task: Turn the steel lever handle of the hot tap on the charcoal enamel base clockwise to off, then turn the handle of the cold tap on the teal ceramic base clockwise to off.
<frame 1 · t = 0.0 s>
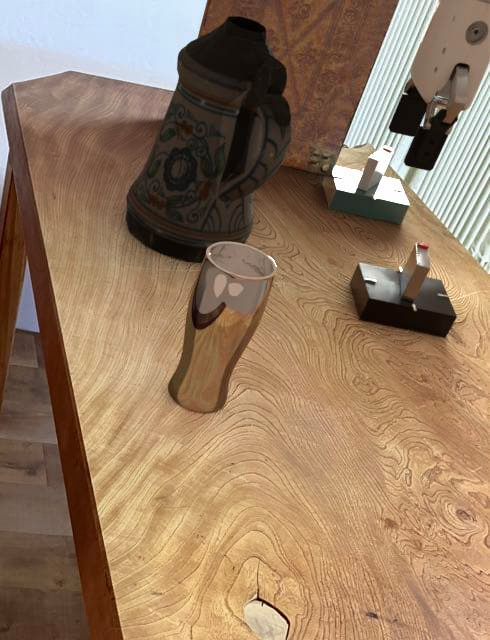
hand: (408, 149, 100), 18 cm above the table, tool pointing down, fingers open, 9 cm apart
hot tap: (415, 270, 108), point 5 cm above the table, hinge at 80.0°
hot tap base: (396, 310, 112), on the table
cold tap: (375, 168, 130), point 5 cm above the table, hinge at 60.0°
book: (252, 148, 142), on the table
beer glass: (196, 396, 90), on the table
beer stein: (193, 238, 115), on the table
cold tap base: (360, 203, 134), on the table
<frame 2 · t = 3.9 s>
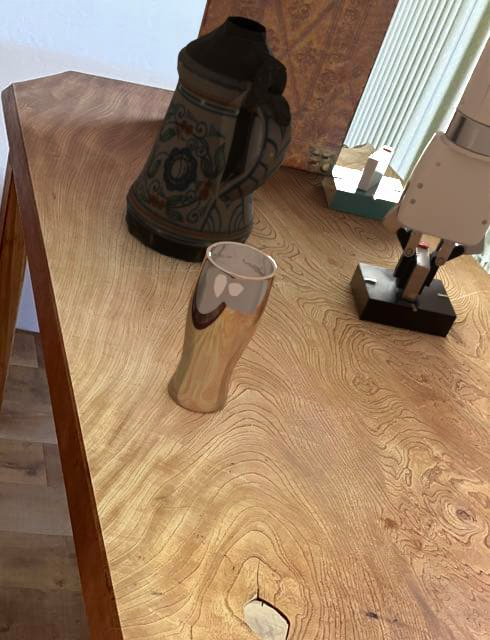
hand: (408, 285, 109), 3 cm above the table, tool pointing down, fingers closed on hot tap
hot tap: (415, 270, 108), point 5 cm above the table, hinge at 80.0°, touching gripper
everything else where it was.
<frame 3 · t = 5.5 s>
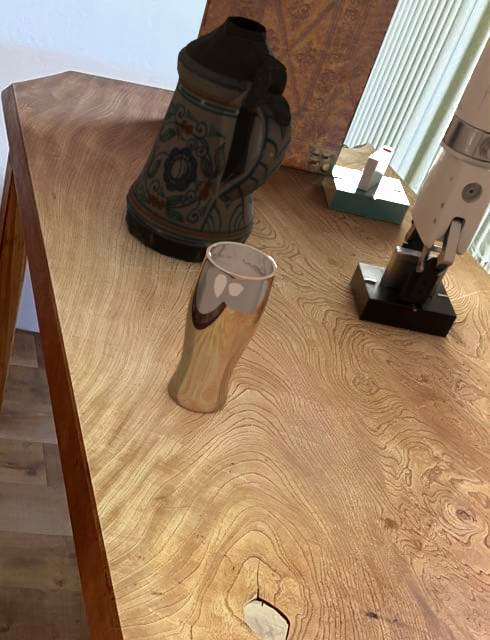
hand: (407, 287, 109), 3 cm above the table, tool pointing down, fingers open, 5 cm apart
hot tap: (415, 270, 108), point 5 cm above the table, hinge at -0.1°
everything else where it was.
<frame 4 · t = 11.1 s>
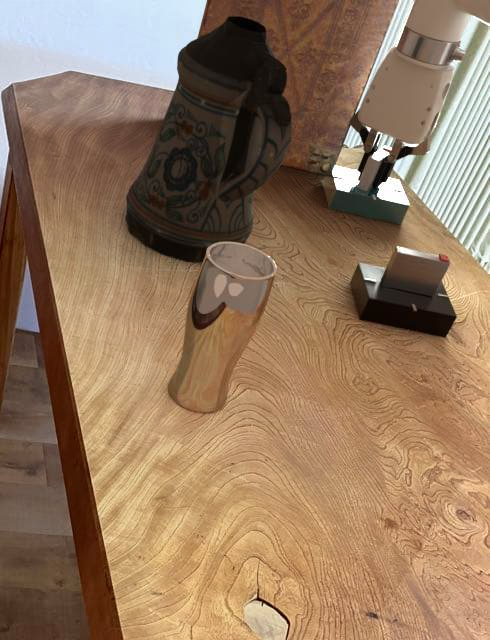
hand: (370, 181, 131), 3 cm above the table, tool pointing down, fingers closed on cold tap
cold tap: (375, 168, 130), point 5 cm above the table, hinge at 60.0°, touching gripper
everything else where it was.
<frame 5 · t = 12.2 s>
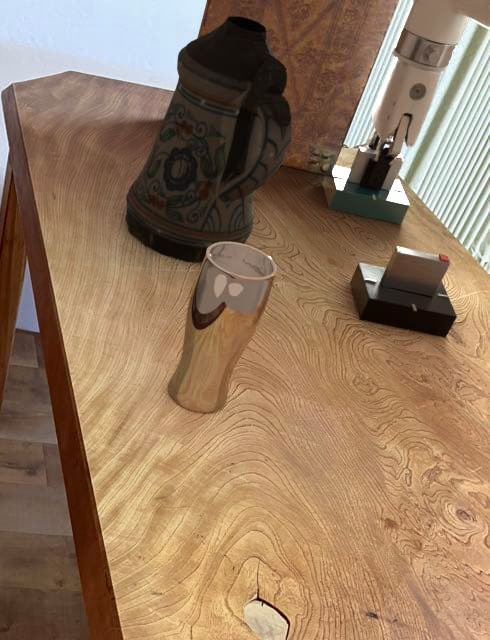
hand: (367, 181, 132), 3 cm above the table, tool pointing down, fingers open, 3 cm apart
cold tap: (375, 168, 130), point 5 cm above the table, hinge at 0.5°
everything else where it was.
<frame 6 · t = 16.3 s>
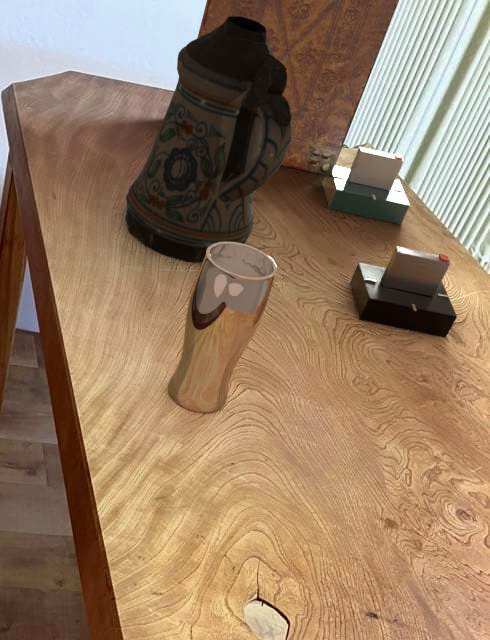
nothing on the table moved.
at the end: hot tap at +0° (first picture: +80°); cold tap at +0° (first picture: +60°) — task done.
